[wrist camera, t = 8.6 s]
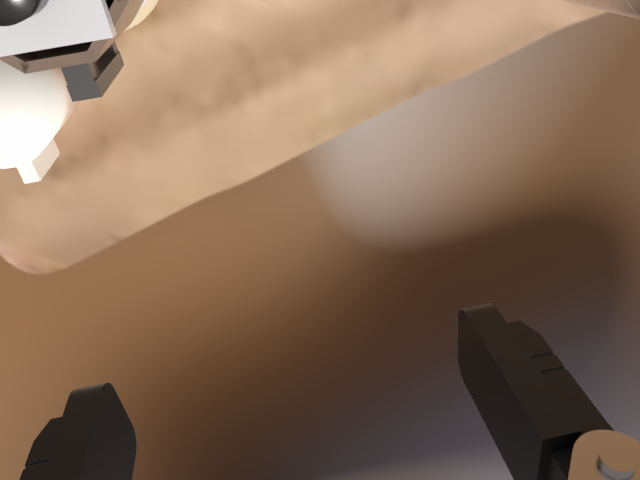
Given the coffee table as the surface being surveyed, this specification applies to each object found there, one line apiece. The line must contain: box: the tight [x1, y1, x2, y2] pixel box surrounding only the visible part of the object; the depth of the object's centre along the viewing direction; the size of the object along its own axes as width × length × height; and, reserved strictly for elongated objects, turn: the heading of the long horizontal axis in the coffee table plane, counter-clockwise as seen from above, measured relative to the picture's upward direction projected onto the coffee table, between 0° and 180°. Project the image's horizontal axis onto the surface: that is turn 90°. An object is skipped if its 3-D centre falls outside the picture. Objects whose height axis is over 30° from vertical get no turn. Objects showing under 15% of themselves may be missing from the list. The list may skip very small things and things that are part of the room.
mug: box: [0, 60, 79, 184], centre depth 40 cm, size 8×10×9 cm
